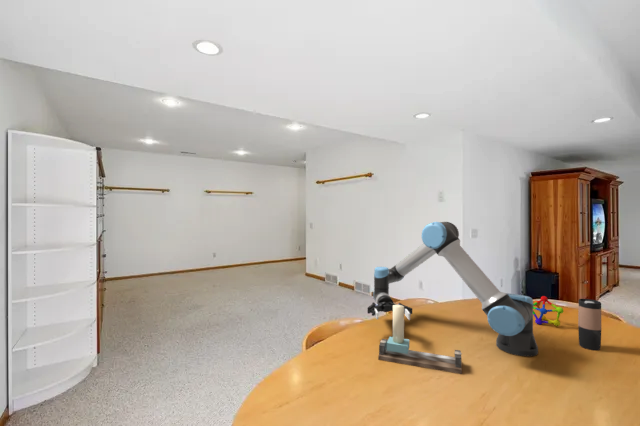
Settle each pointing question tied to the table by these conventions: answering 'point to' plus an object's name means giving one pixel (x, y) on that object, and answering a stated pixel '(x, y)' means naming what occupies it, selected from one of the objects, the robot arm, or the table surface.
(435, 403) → the table surface
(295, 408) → the table surface
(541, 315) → the educational toy
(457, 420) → the table surface
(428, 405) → the table surface
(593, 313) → the travel mug
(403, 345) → the carriage
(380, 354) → the rail board
